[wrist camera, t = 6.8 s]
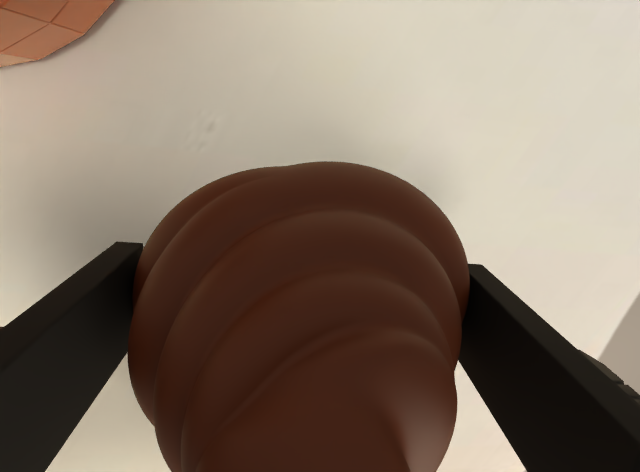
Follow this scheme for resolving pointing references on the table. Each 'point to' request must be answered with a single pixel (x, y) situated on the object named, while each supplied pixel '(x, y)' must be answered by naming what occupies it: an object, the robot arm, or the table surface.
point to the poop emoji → (300, 324)
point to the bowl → (43, 26)
